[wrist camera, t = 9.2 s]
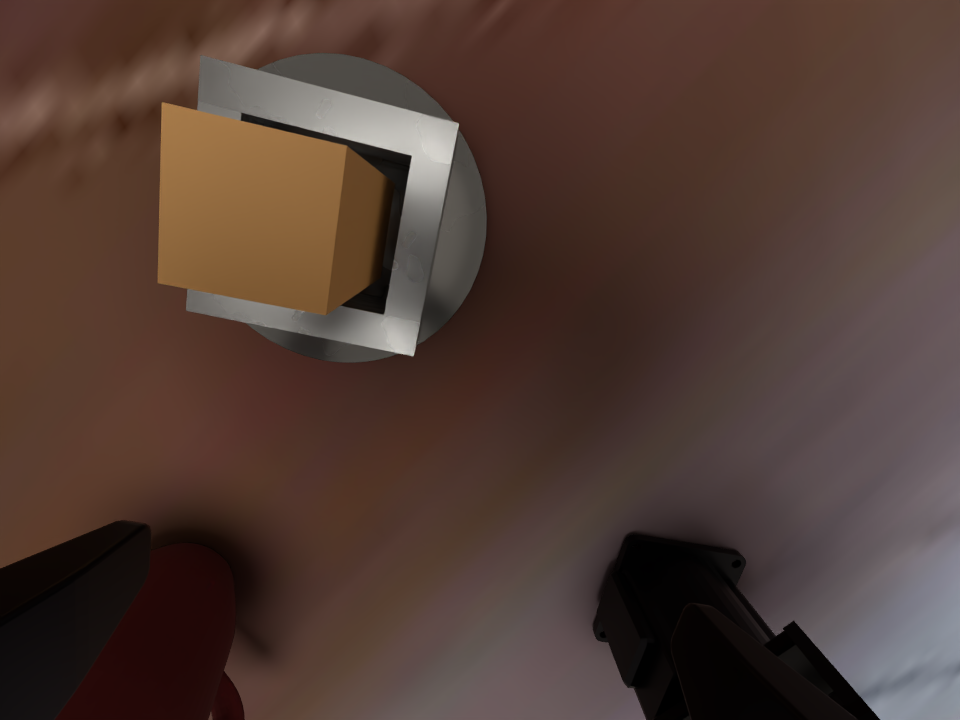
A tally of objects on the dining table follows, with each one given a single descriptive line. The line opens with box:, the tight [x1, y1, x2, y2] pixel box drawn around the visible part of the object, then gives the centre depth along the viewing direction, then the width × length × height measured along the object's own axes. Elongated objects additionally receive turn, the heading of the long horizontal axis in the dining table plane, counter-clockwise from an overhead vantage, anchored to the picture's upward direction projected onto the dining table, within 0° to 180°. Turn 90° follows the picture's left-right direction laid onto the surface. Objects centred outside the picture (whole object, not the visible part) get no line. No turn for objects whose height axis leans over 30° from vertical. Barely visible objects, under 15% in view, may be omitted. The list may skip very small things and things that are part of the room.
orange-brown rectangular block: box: [158, 102, 395, 315], centre depth 13 cm, size 4×4×8 cm
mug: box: [55, 543, 244, 720], centre depth 18 cm, size 10×8×10 cm
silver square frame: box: [186, 53, 487, 362], centre depth 16 cm, size 11×11×4 cm
